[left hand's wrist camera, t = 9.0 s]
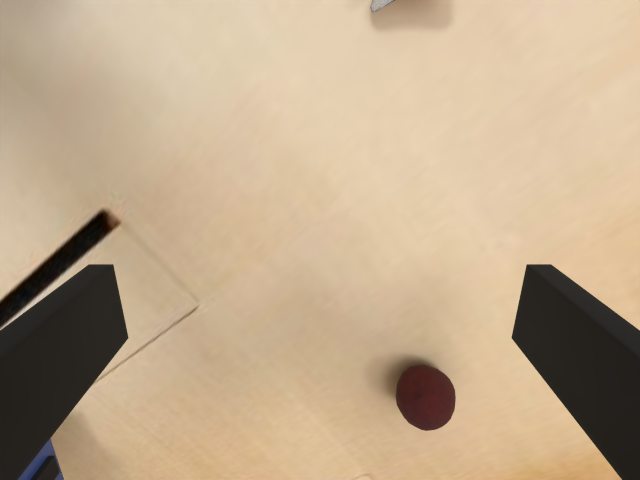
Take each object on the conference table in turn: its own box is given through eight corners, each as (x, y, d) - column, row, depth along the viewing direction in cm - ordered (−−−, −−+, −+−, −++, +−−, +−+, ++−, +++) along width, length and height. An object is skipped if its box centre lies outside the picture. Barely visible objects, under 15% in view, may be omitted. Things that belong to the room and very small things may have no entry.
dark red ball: (409, 408, 54) (422, 451, 48) (380, 370, 52) (388, 411, 45) (456, 383, 53) (476, 425, 46) (428, 344, 50) (444, 382, 44)
